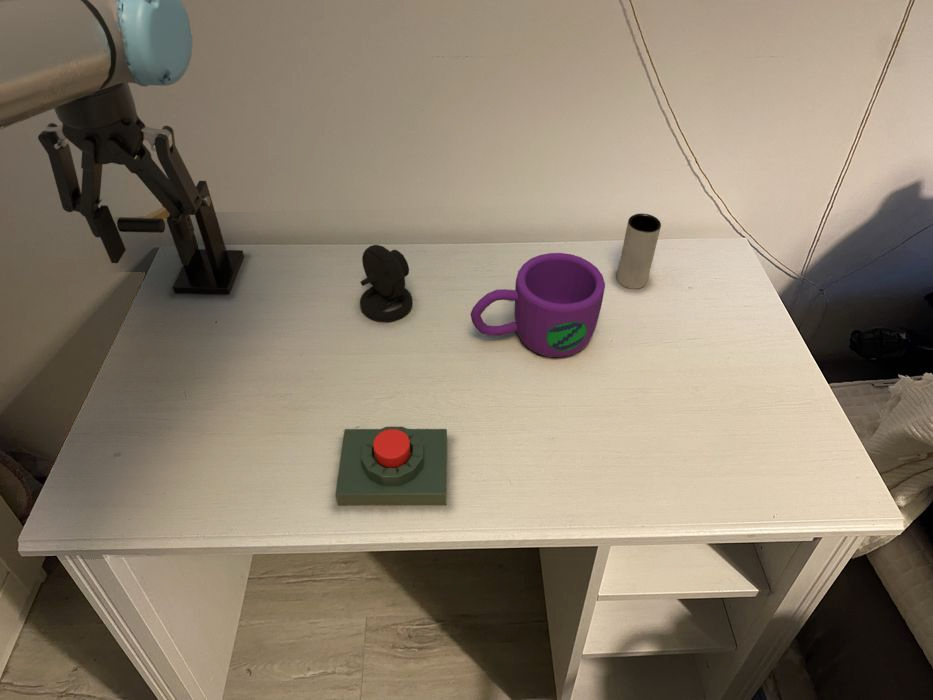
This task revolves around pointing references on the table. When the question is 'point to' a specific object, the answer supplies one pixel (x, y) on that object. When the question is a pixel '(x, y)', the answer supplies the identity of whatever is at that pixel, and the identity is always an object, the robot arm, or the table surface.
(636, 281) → the grey hollow cylinder
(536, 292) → the mug
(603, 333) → the table surface
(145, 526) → the table surface
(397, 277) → the webcam
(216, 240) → the switch bracket
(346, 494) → the button block
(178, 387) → the table surface
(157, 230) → the switch lever
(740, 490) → the table surface
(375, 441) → the red button
